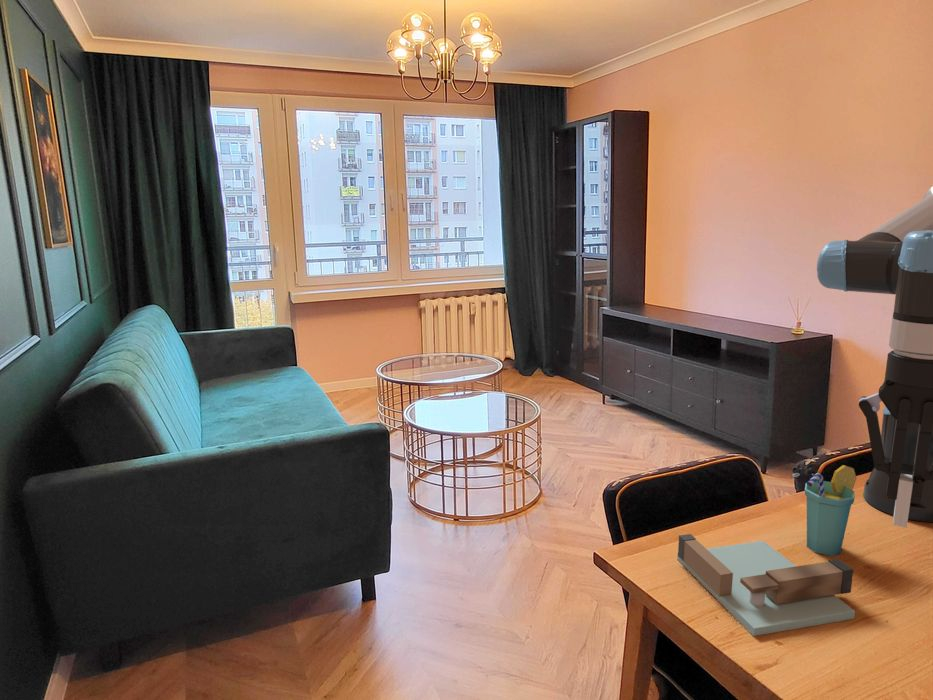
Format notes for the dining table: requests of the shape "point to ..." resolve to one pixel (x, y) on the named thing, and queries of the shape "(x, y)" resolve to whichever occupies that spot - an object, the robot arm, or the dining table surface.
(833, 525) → the cup
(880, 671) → the dining table surface
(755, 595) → the stool seat
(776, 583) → the leg
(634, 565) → the dining table surface
